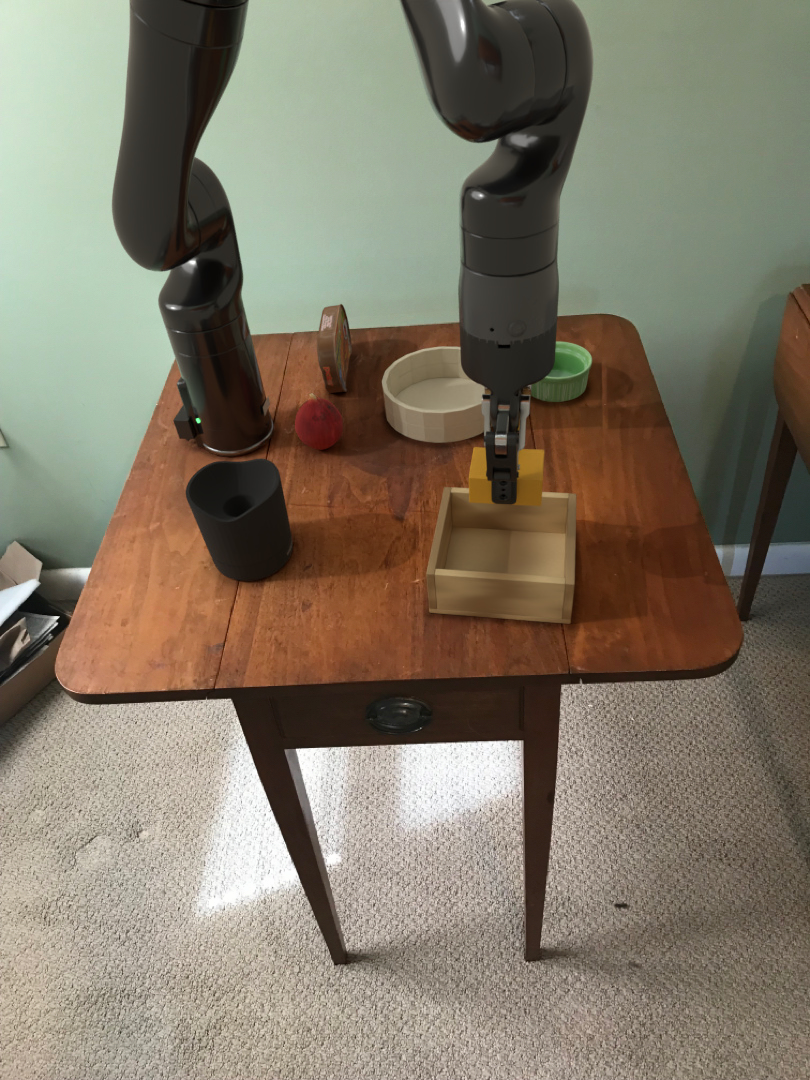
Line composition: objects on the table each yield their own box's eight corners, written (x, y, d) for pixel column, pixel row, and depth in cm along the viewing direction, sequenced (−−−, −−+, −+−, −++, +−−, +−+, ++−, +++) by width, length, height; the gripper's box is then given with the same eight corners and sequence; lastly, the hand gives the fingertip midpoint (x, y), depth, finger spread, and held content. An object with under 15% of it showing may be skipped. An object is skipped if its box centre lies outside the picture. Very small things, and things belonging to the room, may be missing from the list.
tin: (346, 404, 103) (337, 348, 97) (323, 405, 103) (312, 349, 97) (354, 346, 114) (346, 292, 108) (333, 347, 114) (324, 294, 108)
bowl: (375, 443, 96) (371, 410, 93) (397, 377, 107) (393, 345, 103) (497, 448, 93) (497, 414, 90) (507, 380, 104) (507, 347, 101)
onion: (353, 438, 97) (345, 383, 92) (336, 465, 93) (326, 411, 88) (311, 432, 99) (301, 378, 93) (293, 459, 95) (280, 404, 90)
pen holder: (250, 599, 79) (226, 528, 72) (193, 560, 83) (166, 490, 77) (315, 547, 83) (299, 476, 77) (258, 513, 88) (238, 443, 81)
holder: (429, 612, 76) (425, 573, 72) (446, 525, 84) (444, 486, 80) (570, 624, 73) (574, 584, 69) (572, 533, 82) (576, 493, 78)
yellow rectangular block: (469, 503, 70) (468, 477, 68) (474, 472, 73) (473, 446, 71) (541, 506, 69) (542, 480, 67) (543, 474, 72) (544, 449, 70)
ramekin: (569, 363, 106) (572, 335, 103) (602, 397, 99) (605, 367, 96) (509, 379, 104) (510, 350, 101) (538, 414, 98) (540, 384, 95)
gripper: (469, 271, 65) (473, 436, 77) (447, 361, 55) (456, 534, 66) (560, 270, 63) (550, 438, 75) (554, 363, 53) (544, 539, 65)
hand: (506, 483), depth 71 cm, fingers closed on yellow rectangular block, 4 cm apart
